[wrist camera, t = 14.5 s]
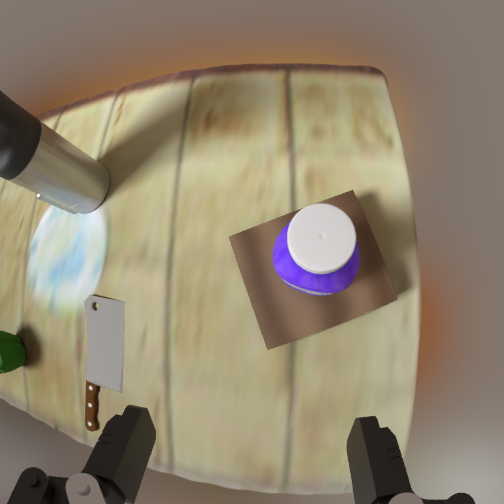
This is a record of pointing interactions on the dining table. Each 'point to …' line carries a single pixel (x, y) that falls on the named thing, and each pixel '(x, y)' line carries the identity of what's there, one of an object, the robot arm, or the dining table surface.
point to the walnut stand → (302, 304)
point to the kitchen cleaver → (103, 351)
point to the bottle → (317, 251)
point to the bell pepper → (11, 352)
